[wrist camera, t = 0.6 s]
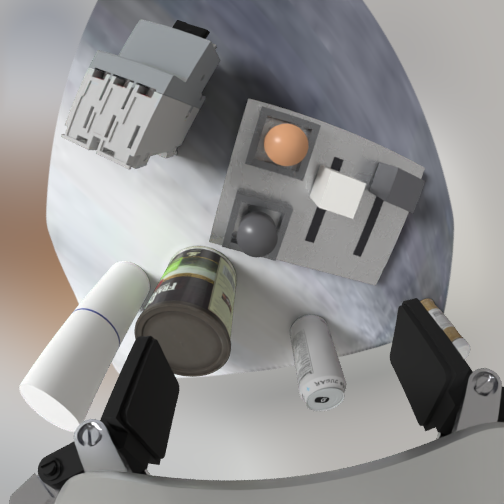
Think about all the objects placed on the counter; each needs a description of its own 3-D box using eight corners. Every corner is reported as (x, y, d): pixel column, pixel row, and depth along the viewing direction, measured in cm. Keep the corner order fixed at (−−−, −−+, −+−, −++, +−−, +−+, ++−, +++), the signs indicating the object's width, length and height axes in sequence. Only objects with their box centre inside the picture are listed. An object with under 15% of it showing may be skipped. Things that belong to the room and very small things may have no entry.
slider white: (320, 164, 31) (331, 170, 26) (350, 175, 32) (366, 183, 27) (309, 196, 33) (318, 207, 28) (339, 206, 33) (353, 218, 28)
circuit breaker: (230, 57, 28) (215, 9, 15) (176, 155, 33) (127, 172, 20) (178, 37, 27) (135, -11, 13) (128, 132, 32) (59, 139, 18)
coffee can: (154, 280, 41) (119, 341, 28) (194, 231, 38) (166, 284, 25) (207, 319, 43) (193, 388, 30) (252, 277, 40) (251, 344, 27)
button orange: (269, 119, 27) (271, 118, 25) (307, 131, 28) (313, 131, 25) (258, 156, 29) (259, 158, 26) (296, 167, 29) (300, 171, 27)
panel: (248, 100, 31) (248, 96, 27) (415, 165, 33) (432, 170, 29) (211, 234, 38) (206, 248, 34) (369, 277, 40) (380, 292, 36)
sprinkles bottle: (408, 315, 44) (442, 367, 31) (421, 294, 42) (461, 344, 30) (424, 320, 44) (458, 369, 32) (437, 300, 42) (476, 346, 30)
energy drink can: (318, 342, 45) (336, 414, 32) (284, 337, 45) (294, 412, 31) (331, 314, 43) (357, 386, 29) (296, 308, 42) (311, 384, 29)
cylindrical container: (158, 285, 41) (91, 425, 18) (133, 308, 43) (67, 435, 20) (124, 252, 39) (26, 374, 16) (101, 278, 41) (14, 393, 18)
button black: (243, 206, 31) (243, 214, 28) (280, 217, 32) (282, 225, 29) (234, 240, 33) (232, 251, 30) (269, 250, 33) (270, 261, 31)
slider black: (379, 161, 31) (398, 167, 26) (404, 173, 31) (425, 181, 27) (369, 191, 32) (386, 201, 28) (394, 202, 33) (413, 213, 28)
